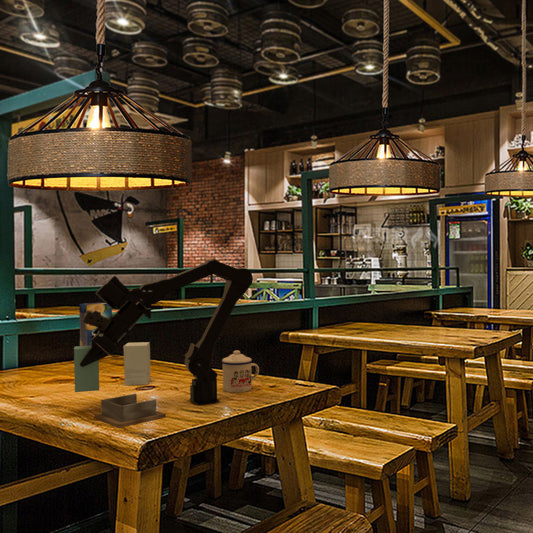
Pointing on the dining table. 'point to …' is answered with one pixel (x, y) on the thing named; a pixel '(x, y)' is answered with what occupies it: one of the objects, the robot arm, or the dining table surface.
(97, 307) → the beverage box
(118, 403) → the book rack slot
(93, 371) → the teal green rectangular block
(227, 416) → the dining table surface
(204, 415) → the dining table surface
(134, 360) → the supplement box
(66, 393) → the dining table surface
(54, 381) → the dining table surface
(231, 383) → the teacup with lid
